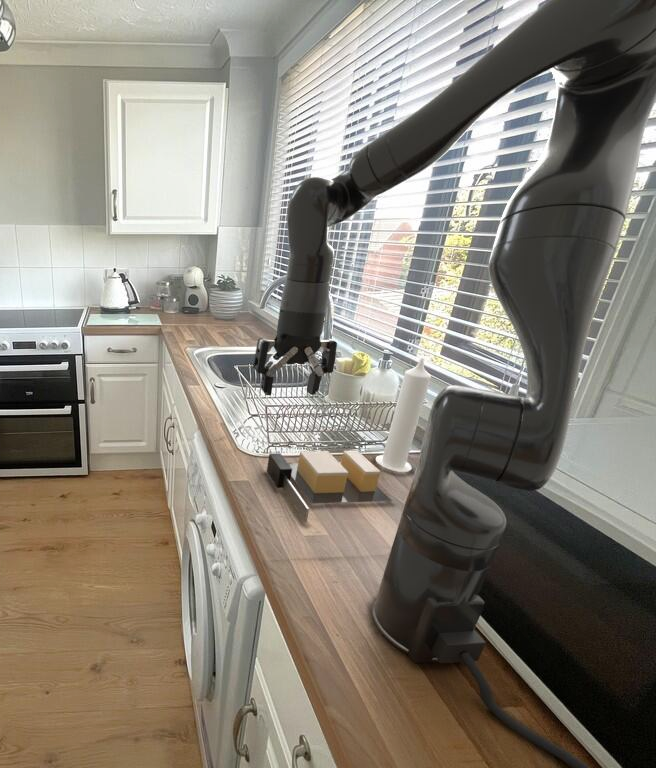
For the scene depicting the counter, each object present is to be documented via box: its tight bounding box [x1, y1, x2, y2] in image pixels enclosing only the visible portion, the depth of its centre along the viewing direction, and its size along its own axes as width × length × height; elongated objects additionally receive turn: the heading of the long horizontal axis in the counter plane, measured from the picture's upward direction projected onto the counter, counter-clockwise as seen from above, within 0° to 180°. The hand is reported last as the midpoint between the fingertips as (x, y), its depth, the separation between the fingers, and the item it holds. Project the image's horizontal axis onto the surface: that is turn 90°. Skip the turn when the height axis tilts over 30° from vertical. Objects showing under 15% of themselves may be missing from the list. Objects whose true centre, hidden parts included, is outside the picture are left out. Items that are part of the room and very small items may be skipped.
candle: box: [375, 357, 432, 473], centre depth 87 cm, size 7×7×25 cm
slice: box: [340, 449, 381, 492], centre depth 84 cm, size 8×3×5 cm, turn 5°
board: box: [287, 461, 393, 505], centre depth 84 cm, size 14×16×1 cm
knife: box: [266, 452, 310, 523], centre depth 79 cm, size 16×2×5 cm, turn 4°
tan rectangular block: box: [297, 450, 348, 493], centre depth 83 cm, size 8×6×5 cm
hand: (288, 393), depth 77 cm, fingers open, 8 cm apart
